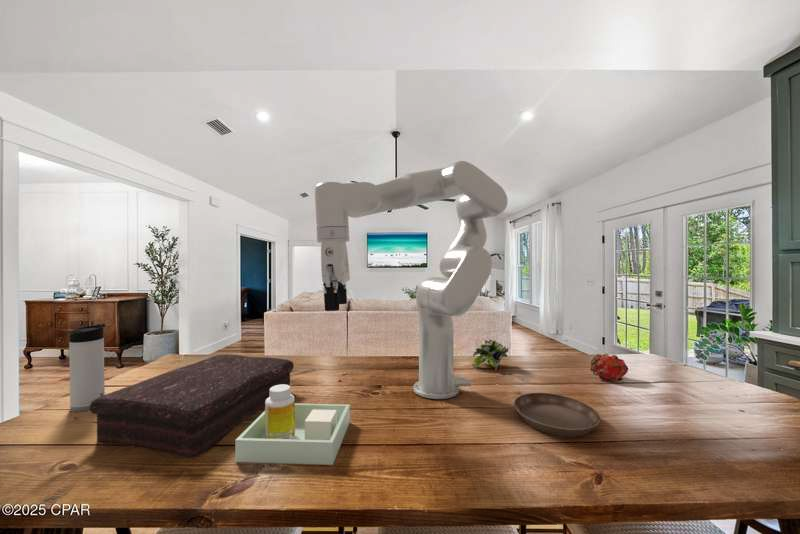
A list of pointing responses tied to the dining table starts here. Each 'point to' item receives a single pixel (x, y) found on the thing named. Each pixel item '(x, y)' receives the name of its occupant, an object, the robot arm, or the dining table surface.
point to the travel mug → (86, 366)
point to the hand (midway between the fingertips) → (336, 307)
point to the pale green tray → (293, 440)
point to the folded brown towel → (189, 404)
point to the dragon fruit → (608, 367)
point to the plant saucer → (557, 414)
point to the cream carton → (320, 424)
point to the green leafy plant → (490, 353)
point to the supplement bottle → (280, 413)
